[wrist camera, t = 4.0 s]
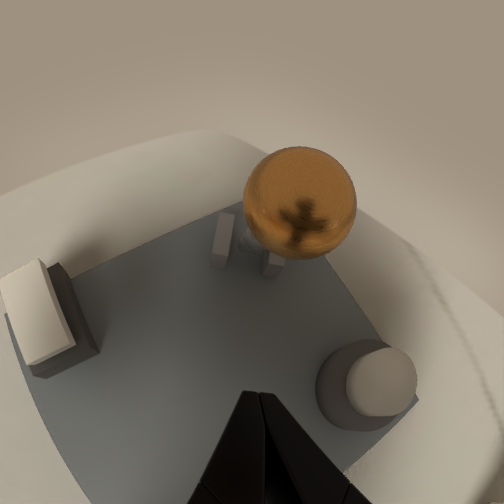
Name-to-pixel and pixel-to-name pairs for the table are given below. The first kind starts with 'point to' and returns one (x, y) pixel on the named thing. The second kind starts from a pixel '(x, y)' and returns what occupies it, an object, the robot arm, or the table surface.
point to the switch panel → (196, 359)
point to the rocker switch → (35, 313)
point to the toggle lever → (297, 205)
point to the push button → (381, 383)
